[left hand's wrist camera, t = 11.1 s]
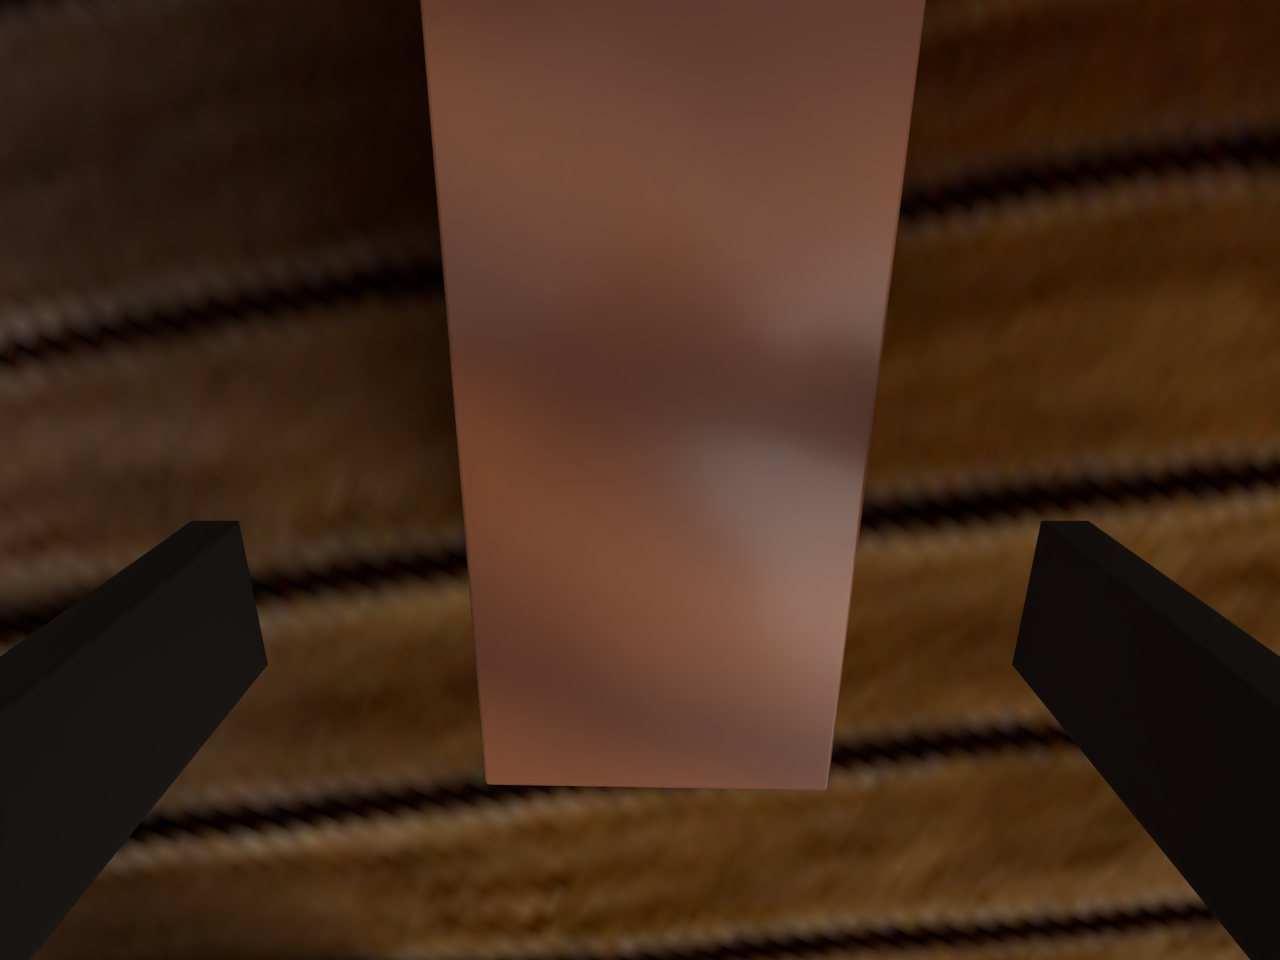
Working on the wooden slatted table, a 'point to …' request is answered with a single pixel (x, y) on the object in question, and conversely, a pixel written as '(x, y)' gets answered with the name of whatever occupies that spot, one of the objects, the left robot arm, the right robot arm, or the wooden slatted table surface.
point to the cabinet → (665, 368)
